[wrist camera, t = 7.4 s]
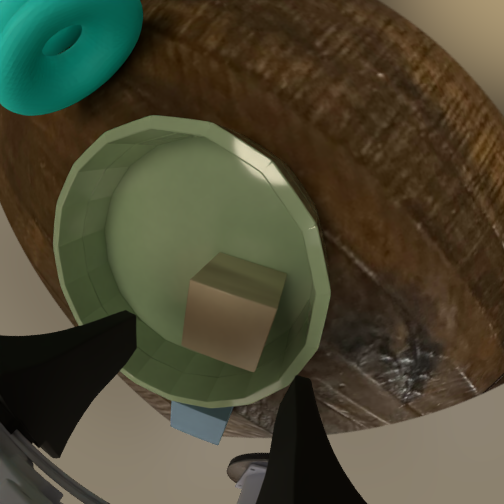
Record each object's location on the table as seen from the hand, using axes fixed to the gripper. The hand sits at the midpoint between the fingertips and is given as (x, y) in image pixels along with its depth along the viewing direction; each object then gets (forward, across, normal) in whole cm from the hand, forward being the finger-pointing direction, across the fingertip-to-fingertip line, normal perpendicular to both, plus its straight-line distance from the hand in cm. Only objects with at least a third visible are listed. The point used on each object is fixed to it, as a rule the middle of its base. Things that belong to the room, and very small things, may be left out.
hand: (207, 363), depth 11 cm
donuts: (+6, +16, -16) cm, 23 cm away
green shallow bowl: (+6, +4, -2) cm, 7 cm away
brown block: (+6, 0, 0) cm, 6 cm away
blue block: (+6, 0, +10) cm, 11 cm away
